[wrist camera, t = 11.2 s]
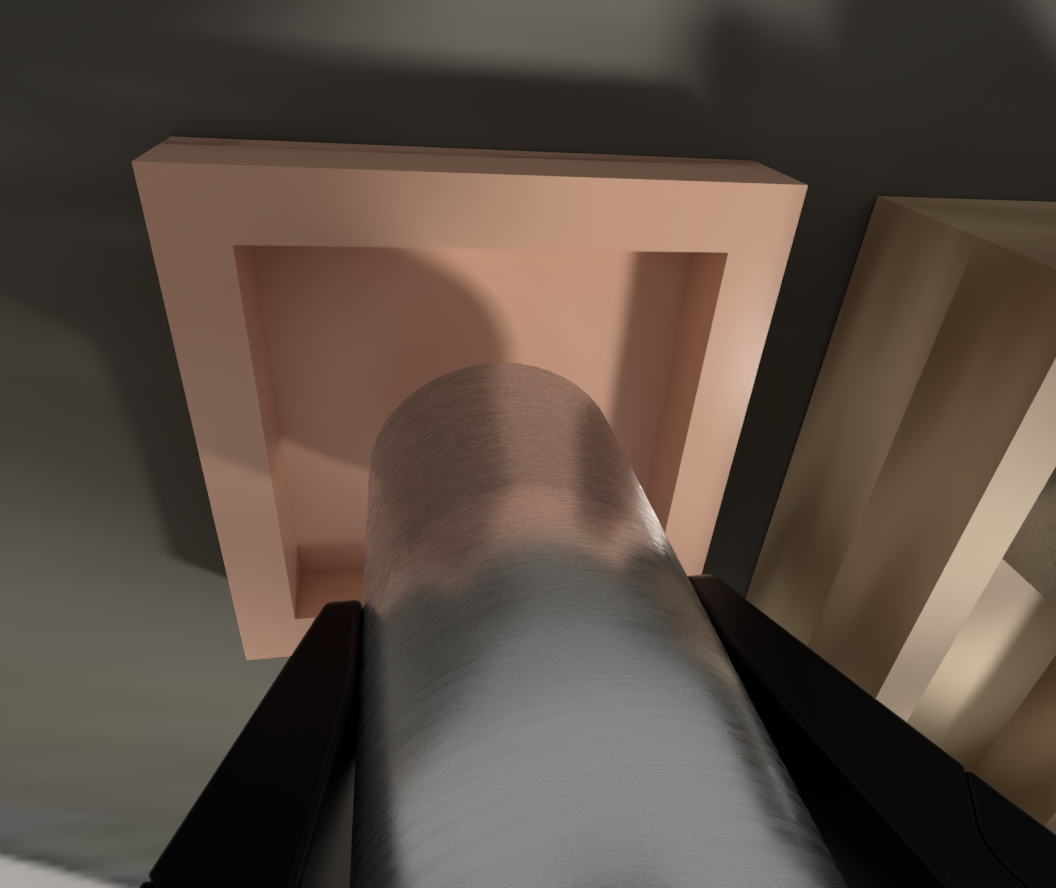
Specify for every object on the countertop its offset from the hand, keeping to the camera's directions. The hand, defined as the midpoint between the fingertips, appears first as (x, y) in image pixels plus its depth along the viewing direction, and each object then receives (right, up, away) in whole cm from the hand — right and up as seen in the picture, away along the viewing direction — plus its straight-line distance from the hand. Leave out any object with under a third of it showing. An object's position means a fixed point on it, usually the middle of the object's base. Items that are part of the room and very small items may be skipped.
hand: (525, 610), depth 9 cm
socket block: (+10, 0, +8) cm, 13 cm away
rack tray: (-1, +3, +4) cm, 5 cm away
